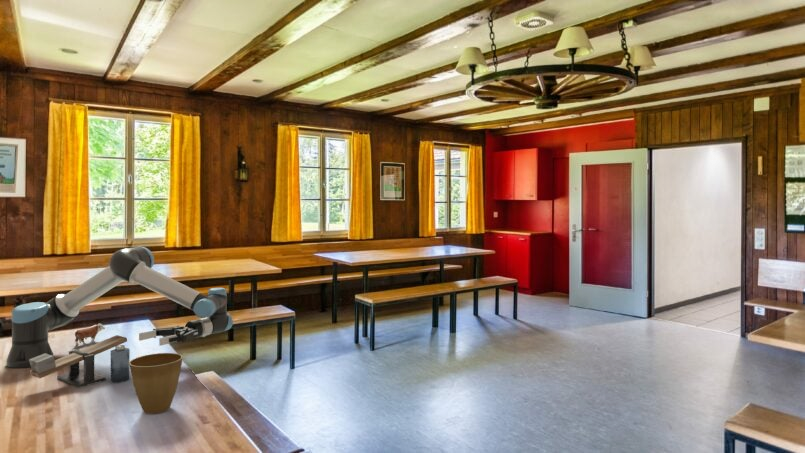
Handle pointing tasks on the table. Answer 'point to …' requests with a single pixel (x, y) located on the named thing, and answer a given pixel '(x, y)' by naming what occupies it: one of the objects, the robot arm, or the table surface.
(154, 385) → the plant pot
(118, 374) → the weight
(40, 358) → the beam
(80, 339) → the bull figurine
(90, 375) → the stand
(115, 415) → the table surface
